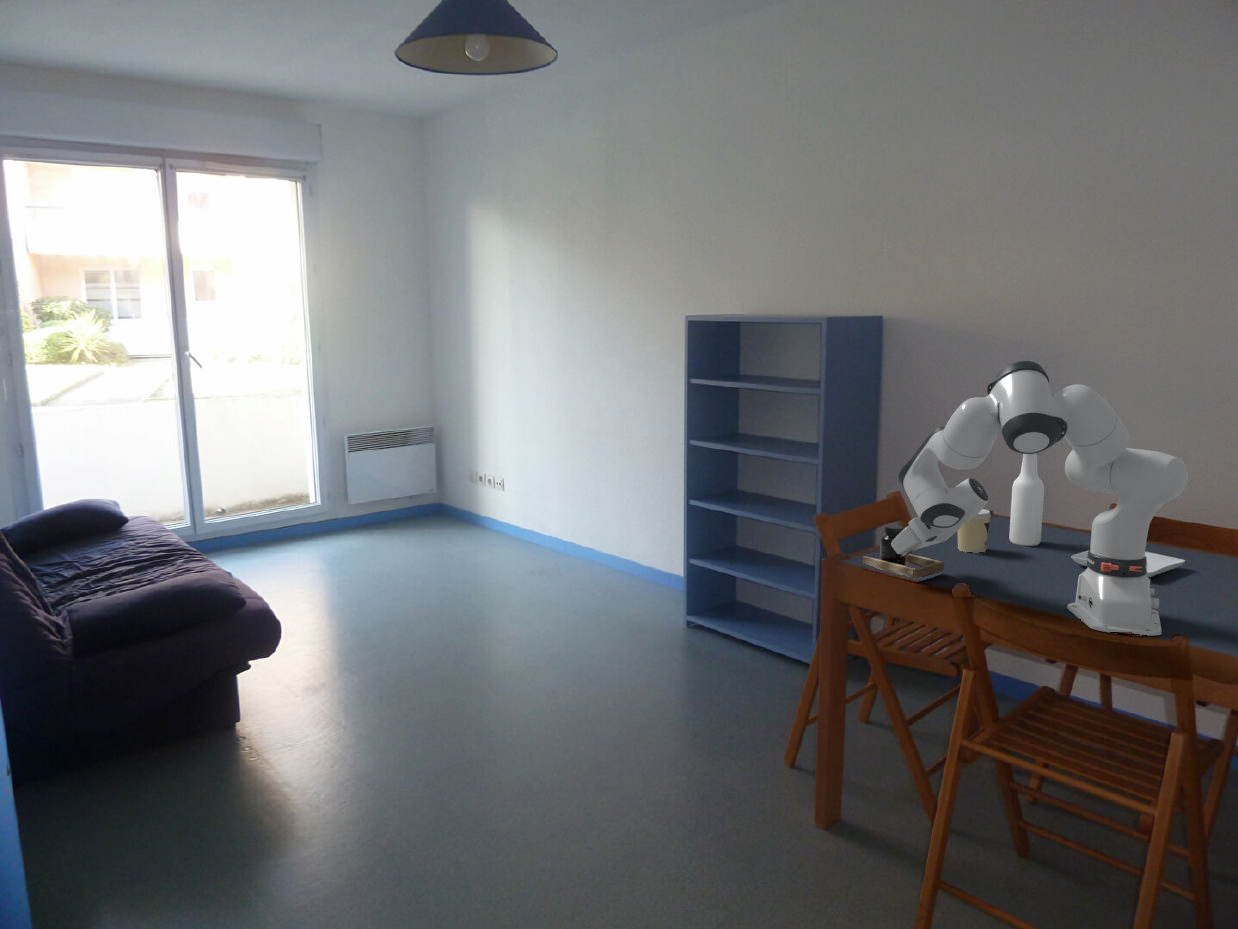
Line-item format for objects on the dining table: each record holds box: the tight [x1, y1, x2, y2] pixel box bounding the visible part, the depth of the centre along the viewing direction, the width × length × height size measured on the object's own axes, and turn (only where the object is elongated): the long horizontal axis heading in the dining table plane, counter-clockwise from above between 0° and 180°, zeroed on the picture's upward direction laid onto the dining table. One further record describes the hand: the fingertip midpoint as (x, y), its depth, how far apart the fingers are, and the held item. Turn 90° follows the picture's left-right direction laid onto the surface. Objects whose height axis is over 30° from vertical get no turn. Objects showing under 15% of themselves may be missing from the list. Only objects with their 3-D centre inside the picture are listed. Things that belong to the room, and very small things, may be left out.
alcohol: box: [1008, 453, 1045, 547], centre depth 264 cm, size 9×9×30 cm
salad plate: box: [1070, 549, 1186, 579], centre depth 239 cm, size 21×21×3 cm
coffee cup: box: [957, 508, 992, 554], centre depth 258 cm, size 9×9×12 cm
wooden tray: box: [862, 553, 945, 578], centre depth 238 cm, size 17×12×4 cm
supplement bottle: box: [879, 524, 906, 566], centre depth 240 cm, size 7×7×12 cm
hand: (904, 553), depth 237 cm, fingers closed, pressing on supplement bottle
